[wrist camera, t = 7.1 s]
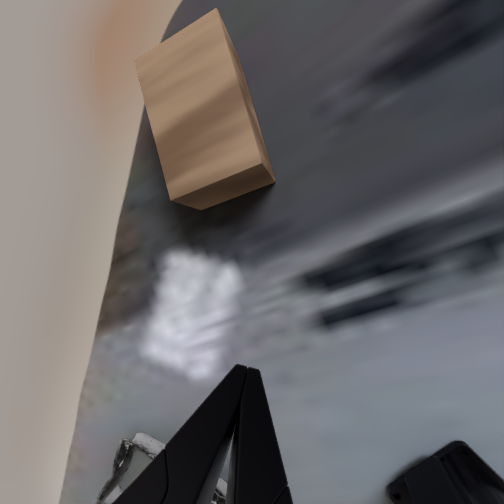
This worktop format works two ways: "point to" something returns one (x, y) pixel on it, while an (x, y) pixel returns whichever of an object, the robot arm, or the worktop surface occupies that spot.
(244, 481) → the robot arm
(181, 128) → the walnut block
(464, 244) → the worktop surface
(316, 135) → the worktop surface
